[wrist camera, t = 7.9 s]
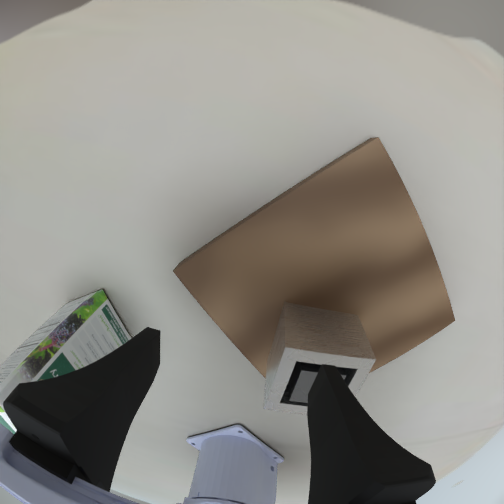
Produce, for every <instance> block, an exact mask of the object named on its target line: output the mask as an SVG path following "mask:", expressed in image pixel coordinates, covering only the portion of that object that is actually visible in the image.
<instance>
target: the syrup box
mask: <svg viewBox="0 0 504 504" xmlns="http://www.w3.org/2000/svg"><path fill="white" fill-rule="evenodd" d="M130 339H132V337H131V336H130V335H129V334H128V332H127V331H126V329H125V327H124V326H123V324H122V322H121V321H120V319H119V317H118V316H117V314H116V312H115V310H114V309H113V307H112V305H111V304H110V302H109V300H108V298H107V297H106V295H105V293H104V291H103V290H102V289H101V290H99V291H96V292H94V293H91V294H89V295H86V296H84V297H82V298H79V299H76V300H74V301H71V302H69V303H67V304H65V305H64V306H63V307H62V308H61V309H59V310H58V311H57V312H56V313H55V314H54V315H53V316H52V317H51V318H49V319H48V320H47V321H46V322H45V323H44V324H43V325H42V326H41V327H40V328H39V329H37V330H36V331H35V332H34V333H33V334H32V335H31V336H30V337H29V338H28V339H27V340H26V341H25V342H24V343H23V344H22V345H21V346H20V347H18V348H17V349H16V350H15V351H14V352H13V353H12V354H11V355H10V357H9V358H8V359H7V360H6V361H5V362H4V363H3V364H2V365H1V366H0V423H1V424H2V425H3V426H5V427H6V428H7V429H8V430H10V431H11V432H12V433H13V434H15V432H16V431H17V430H16V428H15V427H14V425H13V423H12V422H11V420H10V419H9V417H8V416H7V414H6V412H5V410H4V407H3V402H4V401H5V399H6V398H7V397H8V396H9V395H10V393H11V392H12V391H13V390H14V389H15V387H16V386H17V385H18V384H19V383H27V382H34V381H40V380H45V379H50V378H54V377H57V376H61V375H64V374H67V373H70V372H72V371H75V370H78V369H80V368H83V367H85V366H87V365H89V364H91V363H93V362H95V361H97V360H99V359H101V358H102V357H104V356H106V355H107V354H109V353H111V352H112V351H114V350H115V349H117V348H118V347H120V346H121V345H123V344H124V343H126V342H127V341H129V340H130Z"/></svg>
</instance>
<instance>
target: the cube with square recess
mask: <svg viewBox="0 0 504 504" xmlns="http://www.w3.org/2000/svg"><path fill="white" fill-rule="evenodd" d="M296 361H299V362H306V363H313V364H320V365H322V364H327V365H335V366H336V367H344V368H345V372H346V377H345V379H344V381H345V383H346V384H347V386H348V387H349V389H350V390H351V392H352V393H353V395H354V396H356V394H357V392H358V391H359V389H360V387H361V386H362V384H363V382H364V380H365V379H366V377H367V375H368V373H369V372H370V370H371V368H372V366H373V364H374V362H375V361H376V358H375V356H374V353H373V351H372V348H371V346H370V343H369V341H368V338H367V336H366V333H365V331H364V328H363V326H362V323H361V321H360V319H359V316H358V315H354V314H348V313H342V312H336V311H331V310H325V309H319V308H314V307H309V306H303V305H298V304H293V303H287V302H284V305H283V308H282V312H281V315H280V319H279V322H278V326H277V329H276V333H275V336H274V339H273V343H272V346H271V350H270V353H269V356H268V359H267V369H266V384H265V397H264V409H268V410H275V411H282V412H290V413H298V414H307V404H308V403H304V402H295V401H289V379H290V376H291V374H292V371H293V368H294V366H295V363H296Z"/></svg>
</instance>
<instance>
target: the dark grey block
mask: <svg viewBox="0 0 504 504" xmlns="http://www.w3.org/2000/svg"><path fill="white" fill-rule="evenodd" d="M320 367H321V365H320V364H313V363H306V362H299V361H296V363H295V366H294V368H293V371H292V374H291V376H290V379H289V401H295V402H304V403H308V393H309V391H310V389H311V386H312V384H313V382H314V380H315V378H316V376H317V374H318V371H319V369H320ZM335 367H336V366H335ZM336 368H337V370H338V371H339V373H340V375H341V376H342V378H343V379H345V377H346V372H345V368H344V367H336Z"/></svg>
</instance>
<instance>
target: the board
mask: <svg viewBox="0 0 504 504" xmlns="http://www.w3.org/2000/svg"><path fill="white" fill-rule="evenodd" d="M173 272H174V273H175V274H176V276H177V277H178V278H179V279H180V281H181V282H182V283H183V284H184V286H185V287H186V288H187V289H188V291H189V292H190V293H191V294H192V295H193V297H194V298H195V299H196V300H197V302H198V303H199V304H200V305H201V306H202V308H203V309H204V310H205V311H206V312H207V314H208V315H209V316H210V317H211V318H212V319H213V321H214V322H215V323H216V324H217V325H218V326H219V328H220V329H221V330H222V331H223V332H224V333H225V334H226V336H227V337H228V338H229V339H230V340H231V341H232V342H233V344H234V345H235V346H236V347H237V348H238V349H239V350H240V351H241V352H242V354H243V355H244V356H245V357H246V358H247V359H248V360H249V361H250V362H251V363H252V365H253V366H254V367H255V368H256V369H257V370H258V371H259V372H260V373H261V374H262V375H263V376H264V377H265V378H266V369H267V359H268V356H269V353H270V350H271V346H272V343H273V339H274V336H275V333H276V329H277V326H278V322H279V319H280V315H281V312H282V308H283V305H284V302H287V303H293V304H298V305H303V306H309V307H314V308H319V309H325V310H331V311H336V312H342V313H348V314H354V315H358V316H359V319H360V321H361V323H362V326H363V328H364V331H365V333H366V336H367V338H368V341H369V343H370V346H371V348H372V351H373V353H374V356H375V358H376V361H375V362H374V364H373V366H372V368H371V370H370V372H372V371H374V370H376V369H377V368H379V367H381V366H383V365H385V364H387V363H388V362H390V361H392V360H394V359H396V358H397V357H399V356H401V355H402V354H404V353H406V352H408V351H409V350H411V349H413V348H414V347H416V346H417V345H419V344H421V343H422V342H424V341H425V340H427V339H429V338H430V337H432V336H433V335H435V334H436V333H438V332H439V331H441V330H442V329H444V328H445V327H447V326H448V325H449V324H451V323H452V322H454V321H455V318H454V314H453V311H452V307H451V304H450V300H449V297H448V294H447V290H446V287H445V284H444V281H443V278H442V275H441V272H440V269H439V266H438V264H437V261H436V258H435V255H434V253H433V250H432V247H431V245H430V242H429V240H428V237H427V235H426V232H425V230H424V227H423V225H422V223H421V220H420V218H419V216H418V213H417V211H416V209H415V207H414V205H413V202H412V200H411V198H410V196H409V194H408V192H407V190H406V188H405V186H404V184H403V182H402V180H401V178H400V176H399V174H398V172H397V170H396V168H395V166H394V164H393V162H392V161H391V159H390V157H389V155H388V153H387V151H386V150H385V148H384V146H383V144H382V143H381V141H380V139H379V138H378V137H377V138H370V139H369V140H367V141H365V142H364V143H362V144H360V145H359V146H357V147H355V148H354V149H352V150H351V151H349V152H347V153H346V154H344V155H342V156H341V157H339V158H338V159H336V160H334V161H333V162H331V163H330V164H328V165H326V166H325V167H323V168H322V169H320V170H318V171H317V172H315V173H314V174H312V175H311V176H309V177H307V178H306V179H304V180H303V181H301V182H300V183H298V184H296V185H295V186H293V187H292V188H290V189H289V190H287V191H286V192H284V193H283V194H281V195H279V196H278V197H276V198H275V199H273V200H272V201H270V202H269V203H267V204H266V205H264V206H263V207H261V208H260V209H258V210H257V211H255V212H254V213H252V214H251V215H249V216H248V217H246V218H245V219H243V220H242V221H240V222H239V223H237V224H236V225H234V226H233V227H231V228H230V229H228V230H227V231H225V232H224V233H222V234H221V235H219V236H218V237H216V238H215V239H213V240H212V241H210V242H209V243H208V244H206V245H205V246H203V247H202V248H200V249H199V250H197V251H196V252H194V253H193V254H192V255H190V256H189V257H187V258H186V259H184V260H183V261H182V262H180V263H179V264H178V265H177V267H176V268H175V269H174V270H173ZM370 372H369V373H370Z"/></svg>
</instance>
